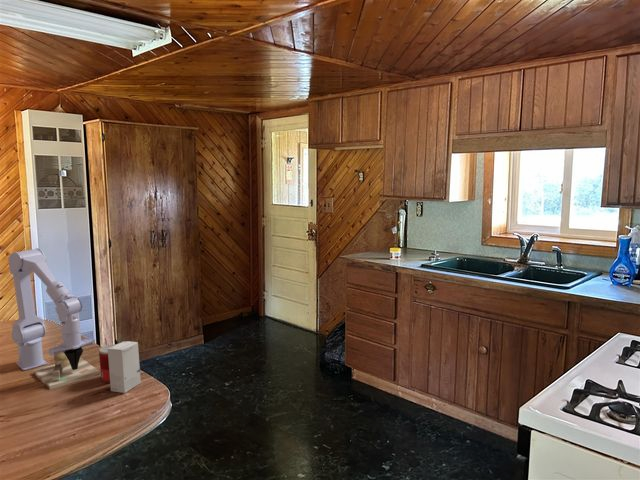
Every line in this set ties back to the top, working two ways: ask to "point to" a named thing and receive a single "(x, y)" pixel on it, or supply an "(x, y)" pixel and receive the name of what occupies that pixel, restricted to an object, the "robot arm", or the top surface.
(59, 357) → the friction peg
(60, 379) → the green tile
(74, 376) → the board
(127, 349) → the skincare box
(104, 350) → the canned food
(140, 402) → the top surface
